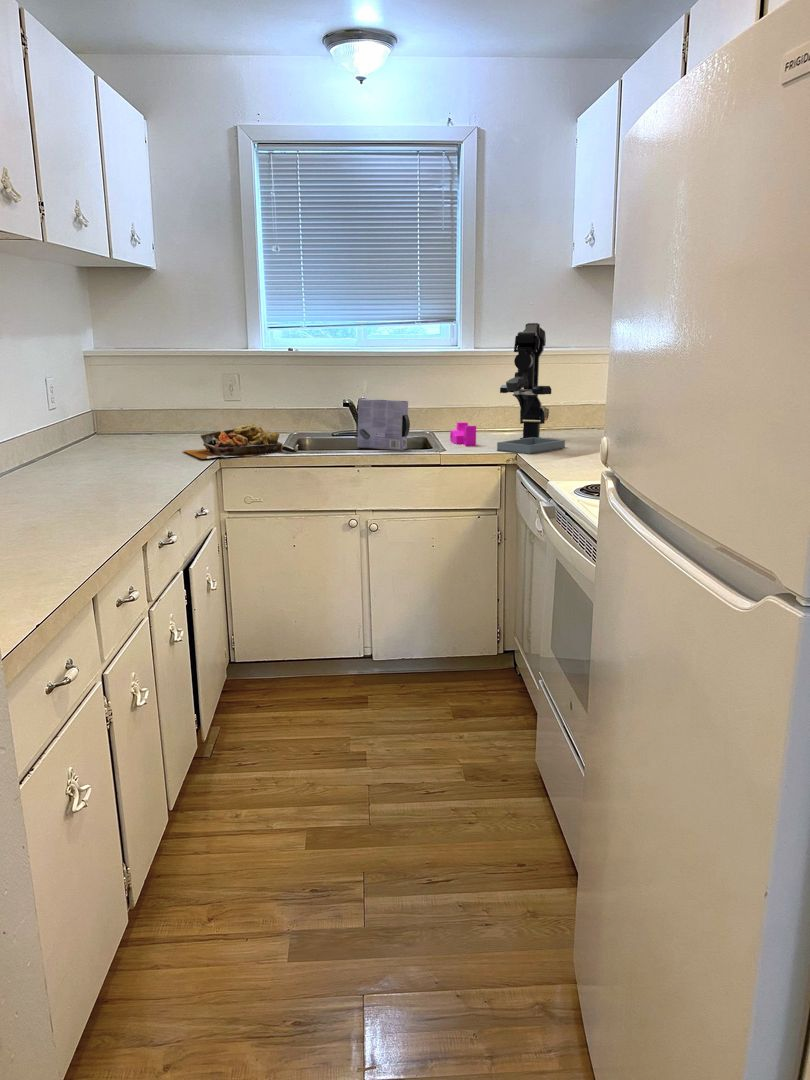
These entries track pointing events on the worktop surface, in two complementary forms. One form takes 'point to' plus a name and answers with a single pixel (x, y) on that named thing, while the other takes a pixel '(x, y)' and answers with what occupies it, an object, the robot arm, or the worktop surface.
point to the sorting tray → (530, 445)
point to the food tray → (240, 443)
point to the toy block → (463, 434)
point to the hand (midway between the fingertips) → (524, 414)
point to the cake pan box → (383, 424)
